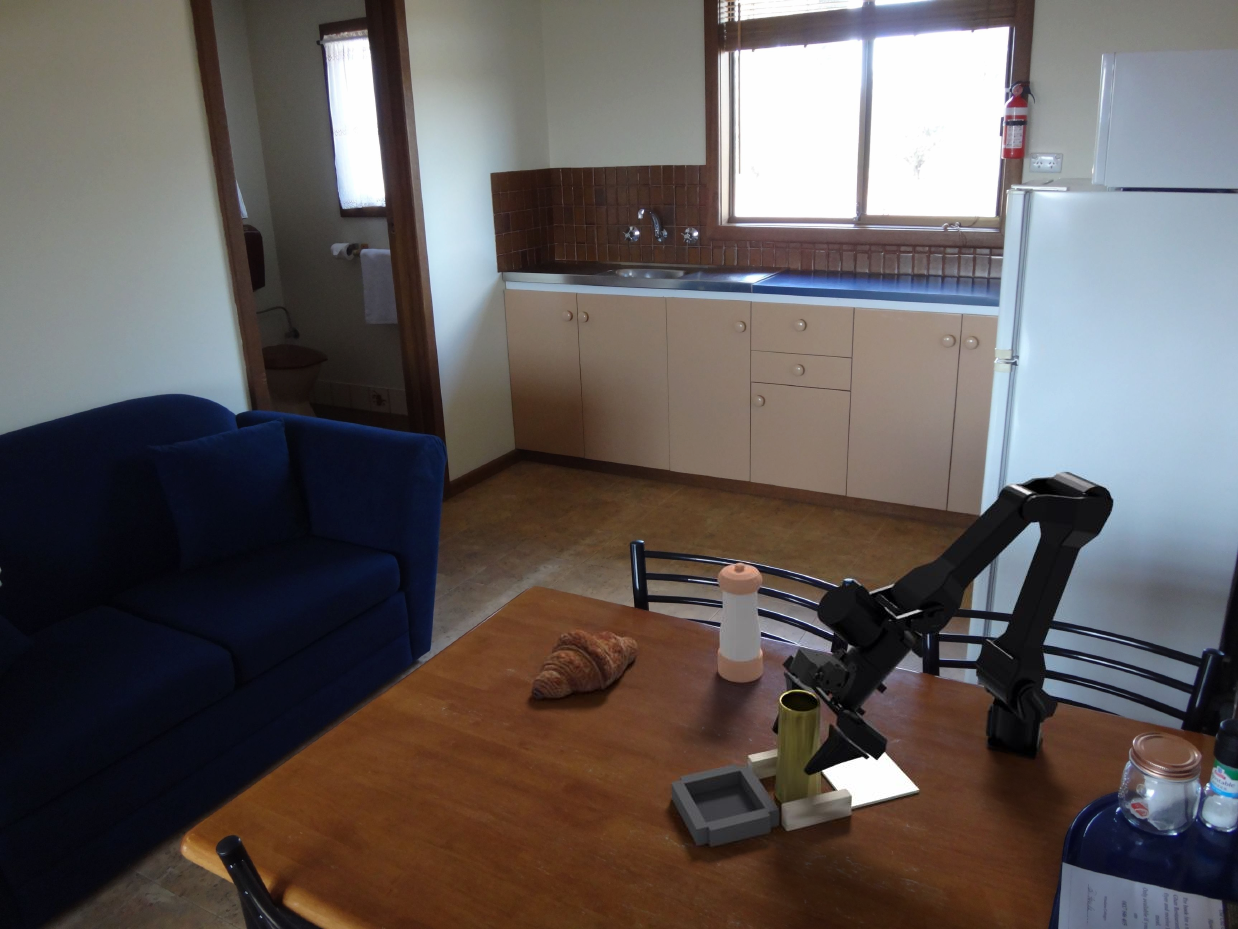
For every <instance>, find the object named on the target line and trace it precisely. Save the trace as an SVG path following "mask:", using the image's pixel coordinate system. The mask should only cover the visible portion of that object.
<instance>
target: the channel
mask: <svg viewBox="0 0 1238 929" xmlns="http://www.w3.org/2000/svg"><path fill="white" fill-rule="evenodd" d="M747 765H749V767H750V768H751V769H752V771H753V772H754V774H755V775H756V777H757V778H758V780H762V779H766V778H769V777H770V778H771V777H773V776H775V777H776V765H777V748H775V749H770V750H767V751H762V752H757V753H753V754H748V755H747ZM852 810H853V809H852V795H851V794H850V792H849V791H848V790H847V789H846V788H845V789H841V790H837V791H836V790H833V791H829V792H826V793H821V794H820V795H816V796H812V797H808V798H804V799H800V800H796V801H792V802H787V803H781V825H782V826H783V828H784V829H785V831H786V832H791V831H792V830H798V829H802V828H805V827H809V826H813V825H818V824H821V823H824V822H825V823H826V822H830V821H833V820H837V819H841V818H845V817H849V816H852Z"/></svg>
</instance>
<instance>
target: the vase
mask: <svg viewBox="0 0 1238 929" xmlns="http://www.w3.org/2000/svg"><path fill="white" fill-rule="evenodd" d="M778 713H779V723H778V734H777V748H776V749H777V765H776V775H775V782H774V783H775V784H774V790H773V791H774V795H775V797H776V799H777V800H778V801H779V802H780V803H781V804H783V803H787V802H792V801H796V800H800V799H804V798H808V797H812V796H816V795H820V794H822V788H821V786H822V785H821V783H822V782H821V781H822V780H821V779H822V778H821V775H822V773H821V771H820V772H818V773H815V774H813V775H807V774H806V773H805V772H804V768H805V767H806V765H807V764H808V762H809V761H810V759H811V758H812V757H813V756H814V754H815V753H816V752H817V751H818V750H819V748H820V747H821V699H820V697H819V696H818V695H817V694H815V693H811V692H808V691H804V690H791V691H788V692H786V691H785V692H784V693H782V694H781V695H780V696H779V698H778Z"/></svg>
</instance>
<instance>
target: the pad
mask: <svg viewBox="0 0 1238 929" xmlns="http://www.w3.org/2000/svg"><path fill="white" fill-rule="evenodd" d="M868 755H869V754H868ZM821 775H823V776H824V777H825V779H826V780H827V781H828V783H829V784H830V785H831V786H832V787H833V789H834V791H837V790H841V789H845V788H846V789H847V790H848V791H849V792H850V794H851V795H852V809H851V810H854V809H857V808H861V807H866V806H870V805H873V804H877V803H881V802H885V801H890V800H893V799H896V798H898V799H899V798H901V797H905V796H909V795H914V794H917V793H920V789H919V787H918V786H917V785H915V783H914V782H913V781H912V780H911V779H910V778H909V777H908V776H907V775H906V774H905V772H904V771H902V770H901V768H900V767H899V766H898V765H897V763H895V761H894V760H893V759H891V758H890V756H888V754H887V753H886V751H885V752H884V753H883V755H882V756H881V757H880V758H879V759H878V760H875V759H874V758H873V757H871V756H870V755H869V758H868V759H867V760H866V759H865V758H863V757H861V758H857V759H854V760H851V761H847V762H844V763H841V764H838V765H835V766H833V767H830V768H828V769H825V770H823V771H821Z"/></svg>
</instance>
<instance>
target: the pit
mask: <svg viewBox="0 0 1238 929" xmlns="http://www.w3.org/2000/svg"><path fill="white" fill-rule="evenodd" d="M670 786H671V787H670V788H671V789H670V790H671V791H670V793H671V800H672V801H673V804H674V805H675V807H676V810H677V811H678V813H679V815H680V817H681V818H682V820H683V822H684V824H685V826H686V828H687V829H688V831H689V833H690V836H691V837H692V839H693V842H694V843H695V845H696V847H699V846H703V845H709V847H710V848H713V847H716V846H717V847H718V846H721V845H726V844H730V843H734V842H737V841H741V840H747V839H749V838H753V837H757V836H760V835H761V836H762V835H764V834H769V833H771V828H774V827H779V826H780V809H779V807H778V806H777V804H776V803H775V801H774V800H773V799H772V797H771V796H770V794H769V793H768V791H767V790H766V789H765V787H764V785H763V784H762V783H761V781H760V779H758V778H757V777H756V775H755V774H754V772H753V771H752V769H751V768H750V767H749V765H748V764H746V765H742V766H738V765H737V763H734V764H730V765H726V766H721V767H717V768H711V769H708V770H704V771H703V770H702V771H699V772H694V773H689V774H685V775H681V776H679V780H676V781H672V782H670Z"/></svg>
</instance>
